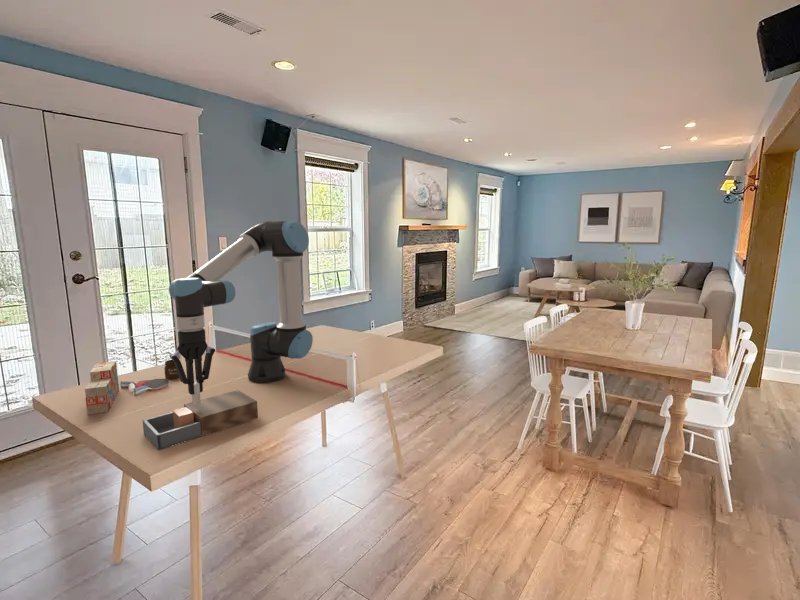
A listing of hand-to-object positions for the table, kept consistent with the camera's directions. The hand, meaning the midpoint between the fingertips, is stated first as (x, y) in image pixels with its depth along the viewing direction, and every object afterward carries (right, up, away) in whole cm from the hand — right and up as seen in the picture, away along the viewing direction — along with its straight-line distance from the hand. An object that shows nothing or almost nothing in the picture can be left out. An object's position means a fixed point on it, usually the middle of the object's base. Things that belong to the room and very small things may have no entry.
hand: (196, 402), depth 135 cm
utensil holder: (-32, -1, +48) cm, 58 cm away
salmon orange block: (-2, -5, -1) cm, 5 cm away
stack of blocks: (-43, -5, +21) cm, 48 cm away
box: (-5, -9, -4) cm, 11 cm away
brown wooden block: (+5, -7, +7) cm, 11 cm away
